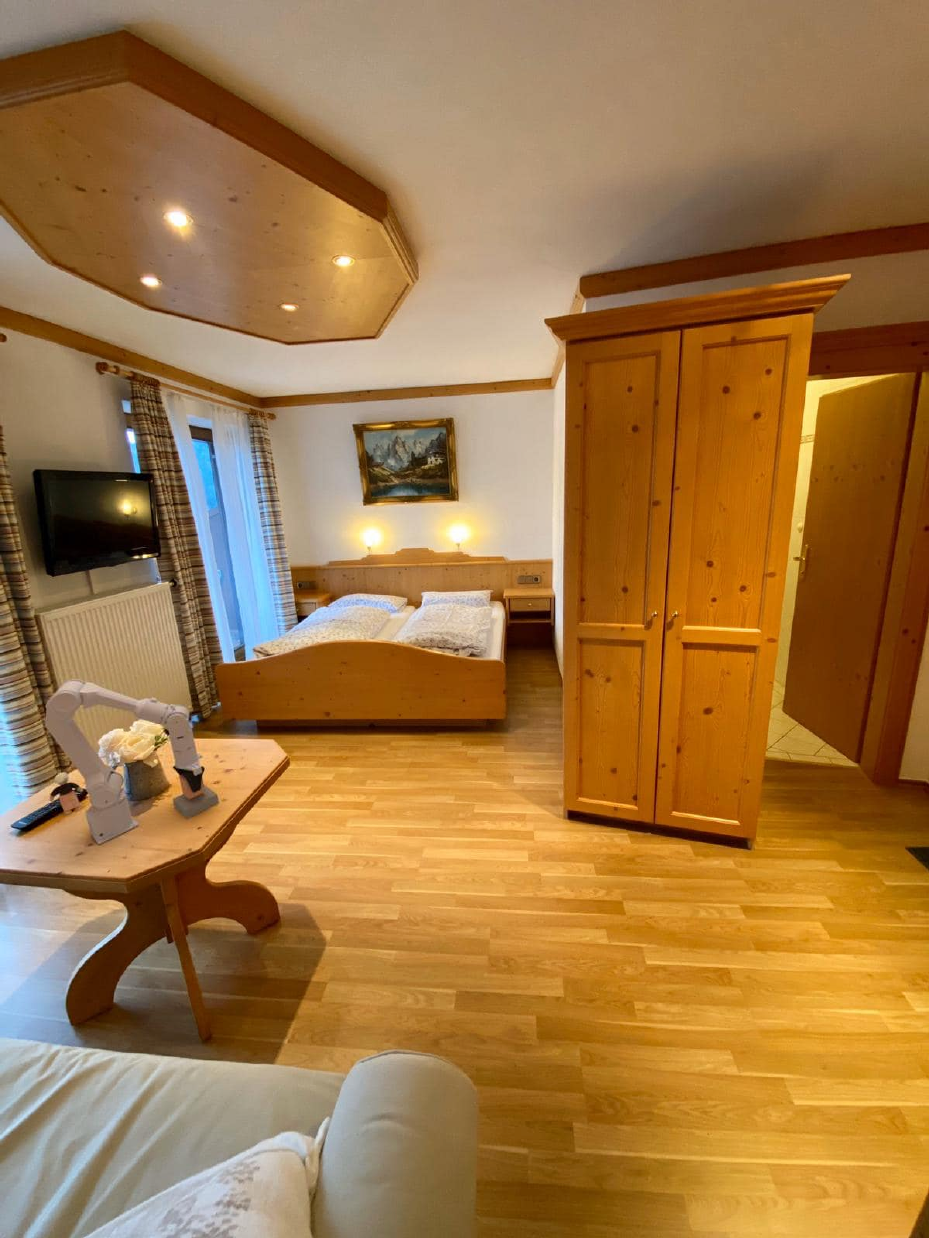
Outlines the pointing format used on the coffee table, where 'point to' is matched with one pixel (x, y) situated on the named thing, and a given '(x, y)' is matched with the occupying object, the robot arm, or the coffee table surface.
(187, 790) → the terracotta block
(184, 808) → the gray block
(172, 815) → the coffee table surface
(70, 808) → the grandmother figurine
